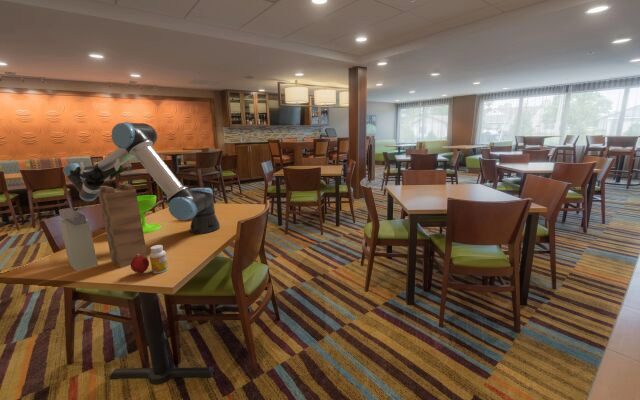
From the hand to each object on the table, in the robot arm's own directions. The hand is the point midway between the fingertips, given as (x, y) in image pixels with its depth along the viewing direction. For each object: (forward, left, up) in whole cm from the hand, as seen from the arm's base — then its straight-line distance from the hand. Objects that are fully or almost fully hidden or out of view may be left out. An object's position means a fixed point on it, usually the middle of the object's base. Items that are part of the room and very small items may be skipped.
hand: (101, 162), depth 130 cm
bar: (+2, +19, -21) cm, 28 cm away
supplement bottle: (-34, +28, -40) cm, 59 cm away
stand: (-16, +17, -40) cm, 46 cm away
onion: (-28, +30, -40) cm, 57 cm away
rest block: (+1, +20, -40) cm, 44 cm away
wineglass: (+1, -26, -40) cm, 48 cm away
